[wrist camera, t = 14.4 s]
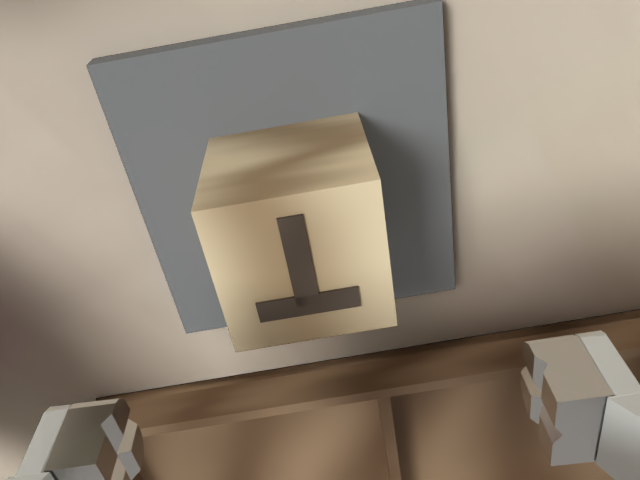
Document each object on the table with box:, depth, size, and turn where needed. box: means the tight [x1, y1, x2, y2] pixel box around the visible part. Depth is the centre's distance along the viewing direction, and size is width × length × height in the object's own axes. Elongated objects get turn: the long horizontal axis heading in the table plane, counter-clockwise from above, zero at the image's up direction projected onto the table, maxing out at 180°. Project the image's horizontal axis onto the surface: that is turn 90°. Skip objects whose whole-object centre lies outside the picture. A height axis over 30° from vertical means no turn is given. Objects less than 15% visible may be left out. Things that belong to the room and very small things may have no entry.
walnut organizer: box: [96, 310, 640, 480], centre depth 29 cm, size 26×13×2 cm, turn 99°
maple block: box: [191, 112, 398, 352], centre depth 19 cm, size 5×5×5 cm
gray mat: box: [86, 0, 455, 333], centre depth 21 cm, size 11×11×1 cm
